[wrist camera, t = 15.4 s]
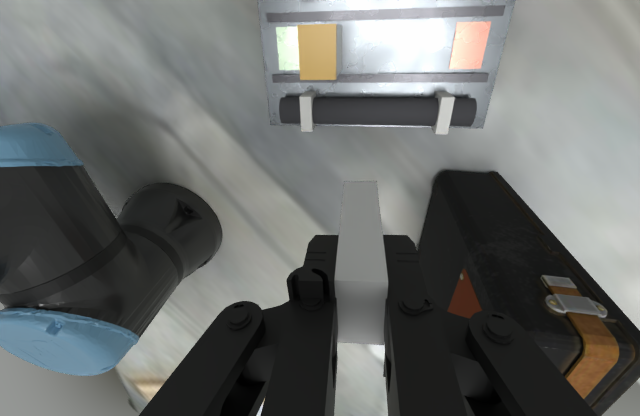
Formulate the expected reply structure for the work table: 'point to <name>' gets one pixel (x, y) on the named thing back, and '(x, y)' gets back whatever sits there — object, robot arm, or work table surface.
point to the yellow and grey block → (320, 51)
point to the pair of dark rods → (378, 111)
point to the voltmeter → (525, 283)
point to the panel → (389, 49)
